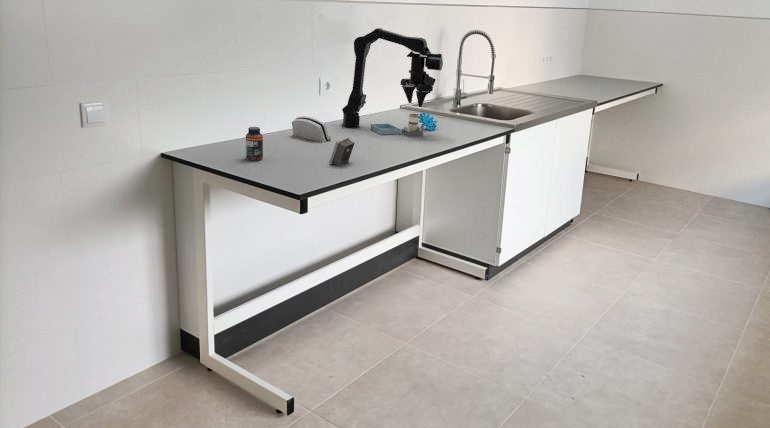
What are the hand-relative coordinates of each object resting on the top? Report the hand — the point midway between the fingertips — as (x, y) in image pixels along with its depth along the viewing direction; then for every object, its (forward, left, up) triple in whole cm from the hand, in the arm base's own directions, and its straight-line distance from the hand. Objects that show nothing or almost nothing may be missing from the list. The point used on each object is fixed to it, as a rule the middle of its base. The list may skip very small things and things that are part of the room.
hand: (415, 104), depth 286 cm
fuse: (0, 0, -11) cm, 11 cm away
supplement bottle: (-78, -26, -13) cm, 84 cm away
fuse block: (0, 0, -13) cm, 13 cm away
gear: (+13, +9, -14) cm, 21 cm away
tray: (-10, +7, -13) cm, 18 cm away
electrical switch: (-49, -37, -14) cm, 63 cm away
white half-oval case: (-47, +1, -14) cm, 49 cm away
